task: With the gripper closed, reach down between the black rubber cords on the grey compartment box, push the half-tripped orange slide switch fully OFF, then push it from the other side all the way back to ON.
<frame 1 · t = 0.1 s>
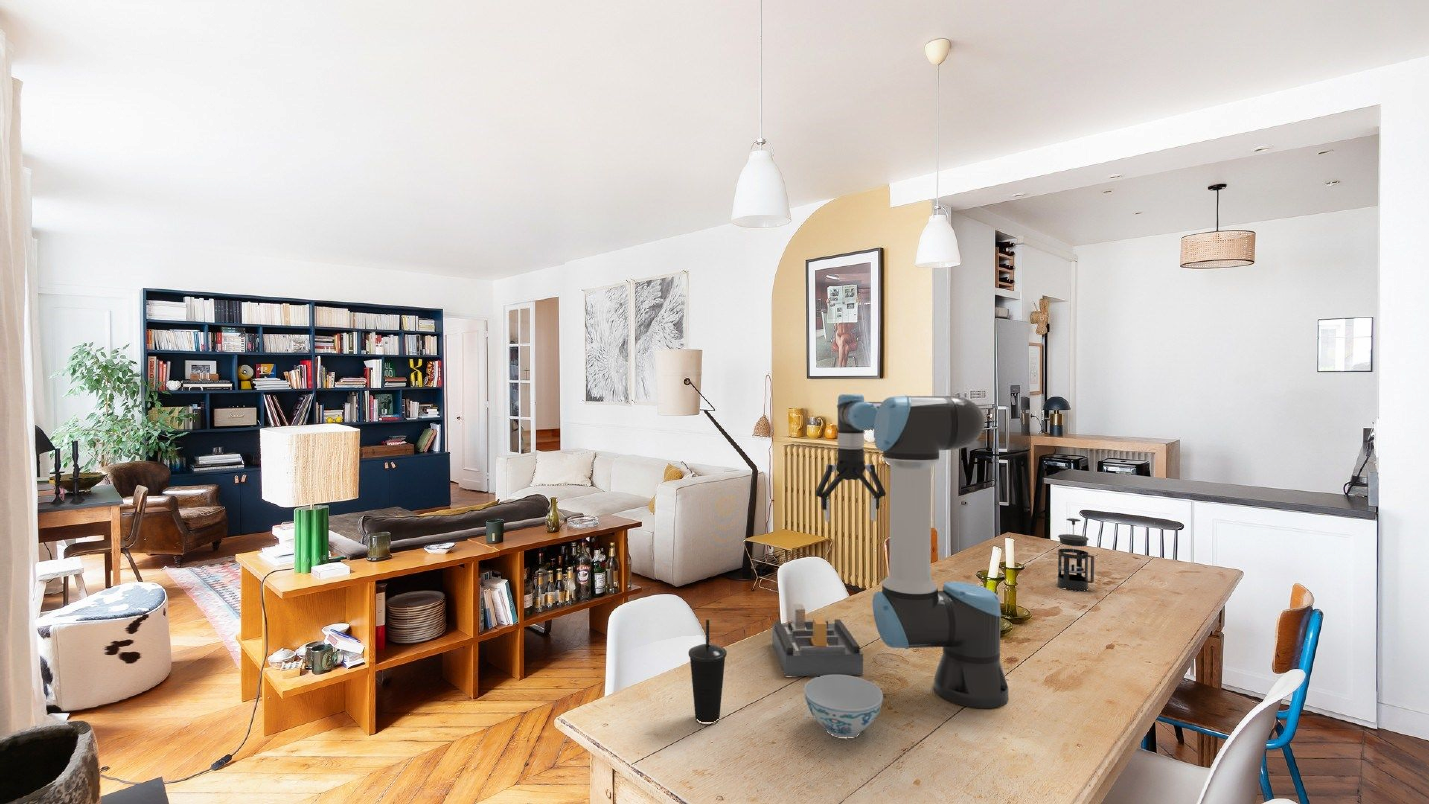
hand: (850, 520, 193), 28 cm above the table, tool pointing down, fingers open, 13 cm apart
chinaware: (842, 731, 129), on the table
tripped switch: (819, 633, 158), point 8 cm above the table, slide at 3.0 cm
drinking cup: (707, 720, 133), on the table
grey compartment box: (814, 658, 163), on the table
french press: (1074, 588, 221), on the table
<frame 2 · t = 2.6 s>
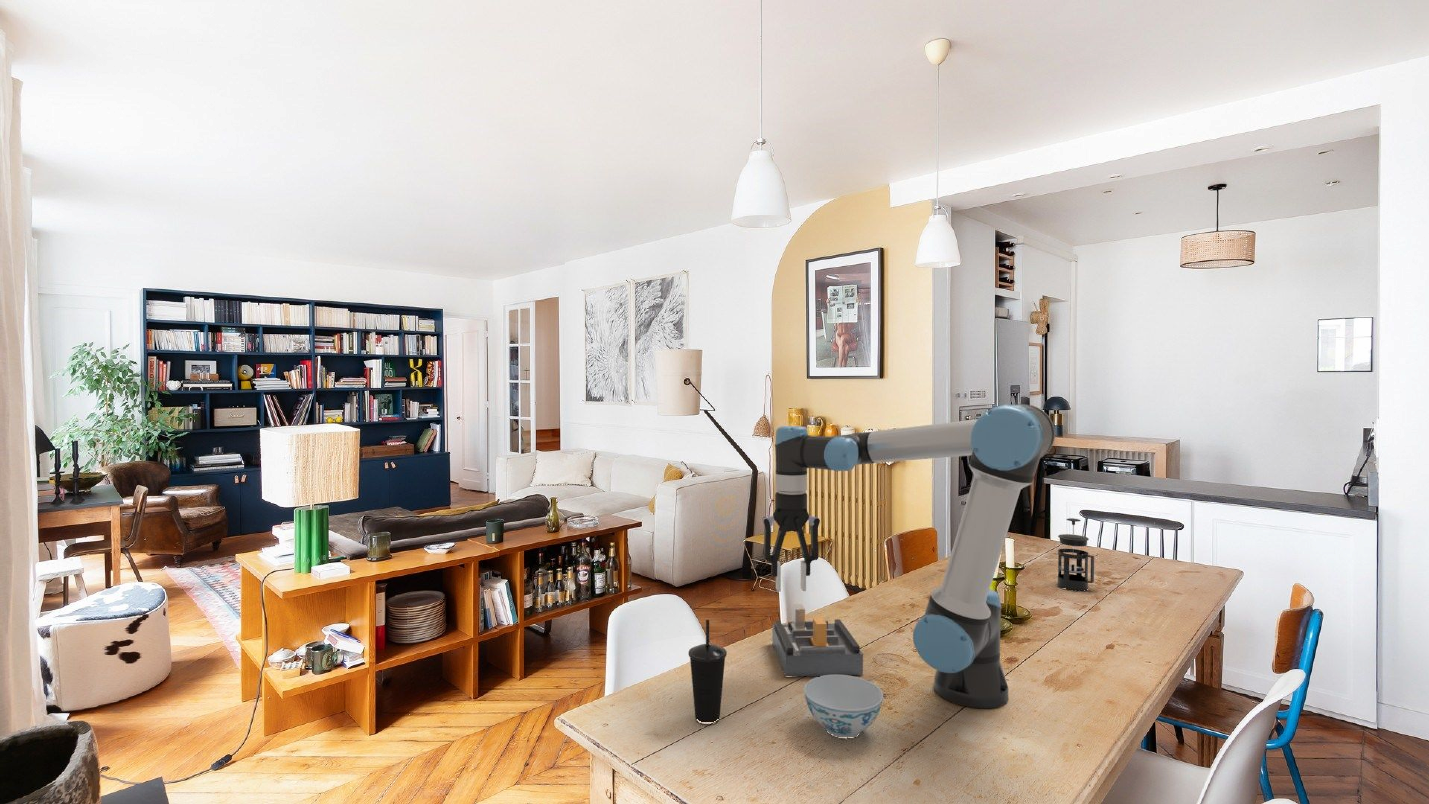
hand: (790, 589, 157), 19 cm above the table, tool pointing down, fingers open, 5 cm apart
nothing on the table moved.
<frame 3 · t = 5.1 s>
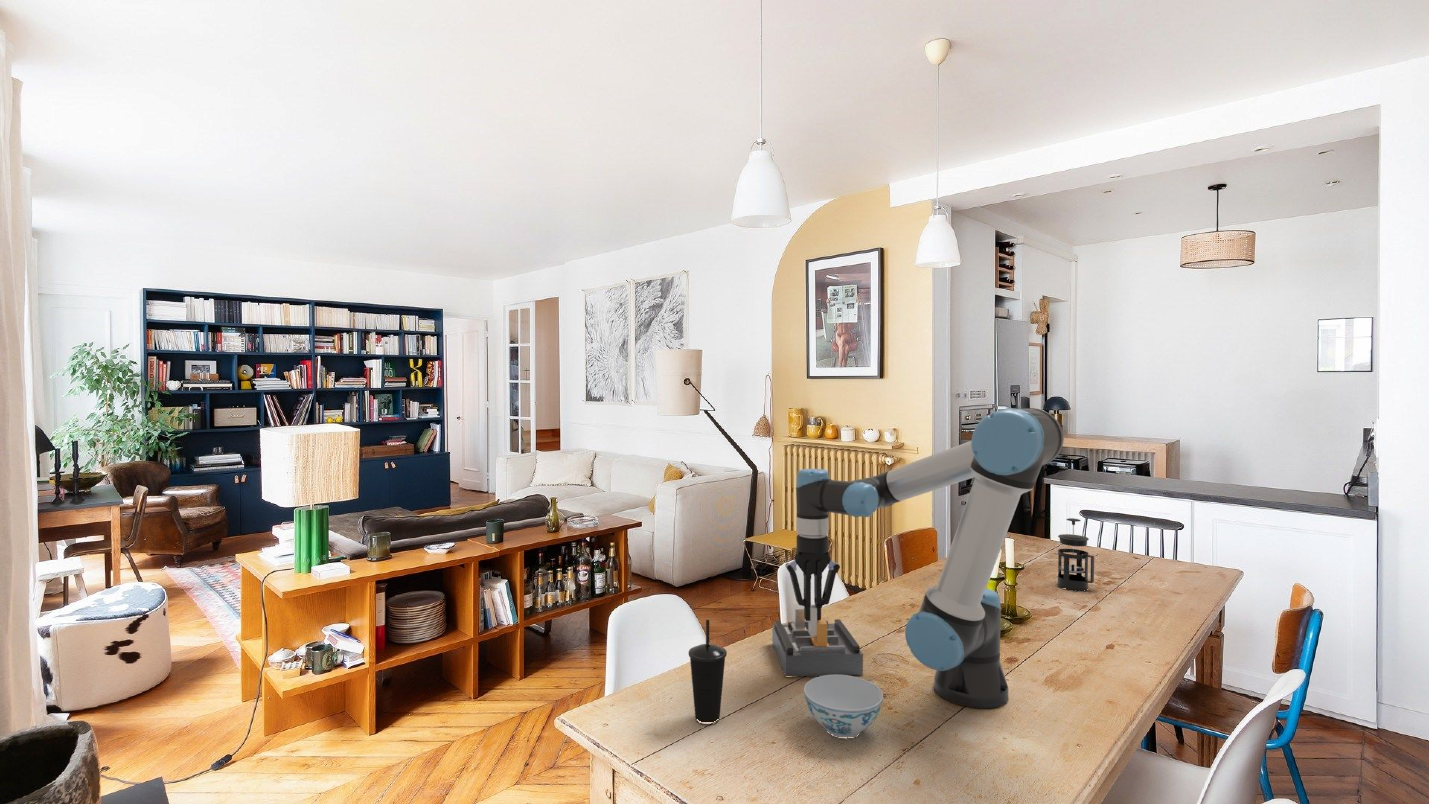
hand: (812, 633, 157), 8 cm above the table, tool pointing down, fingers closed
tripped switch: (820, 633, 158), point 8 cm above the table, slide at 2.8 cm, touching gripper
everything else where it was.
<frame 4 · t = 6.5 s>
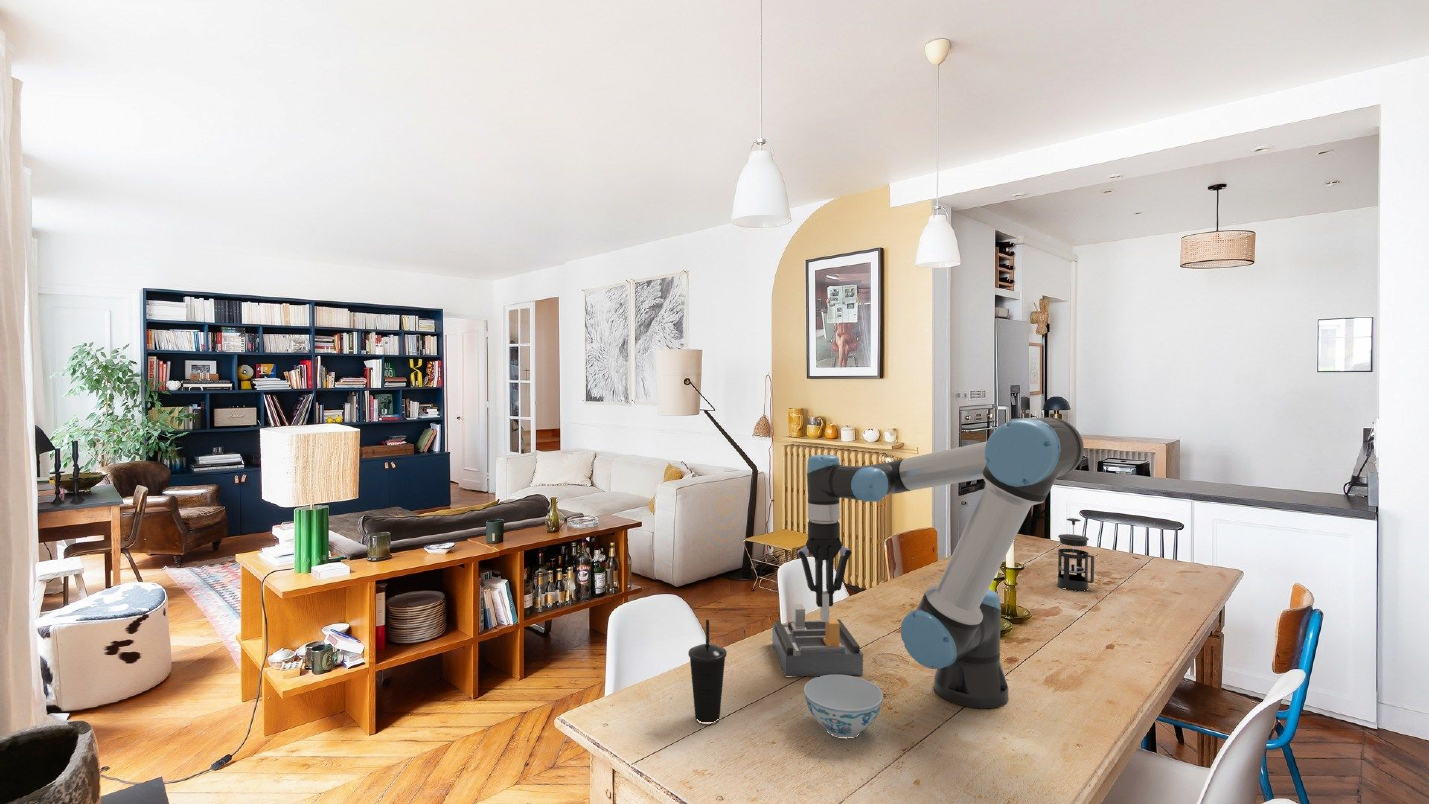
hand: (824, 619, 157), 11 cm above the table, tool pointing down, fingers closed
tripped switch: (832, 632, 158), point 8 cm above the table, slide at -0.1 cm
everything else where it was.
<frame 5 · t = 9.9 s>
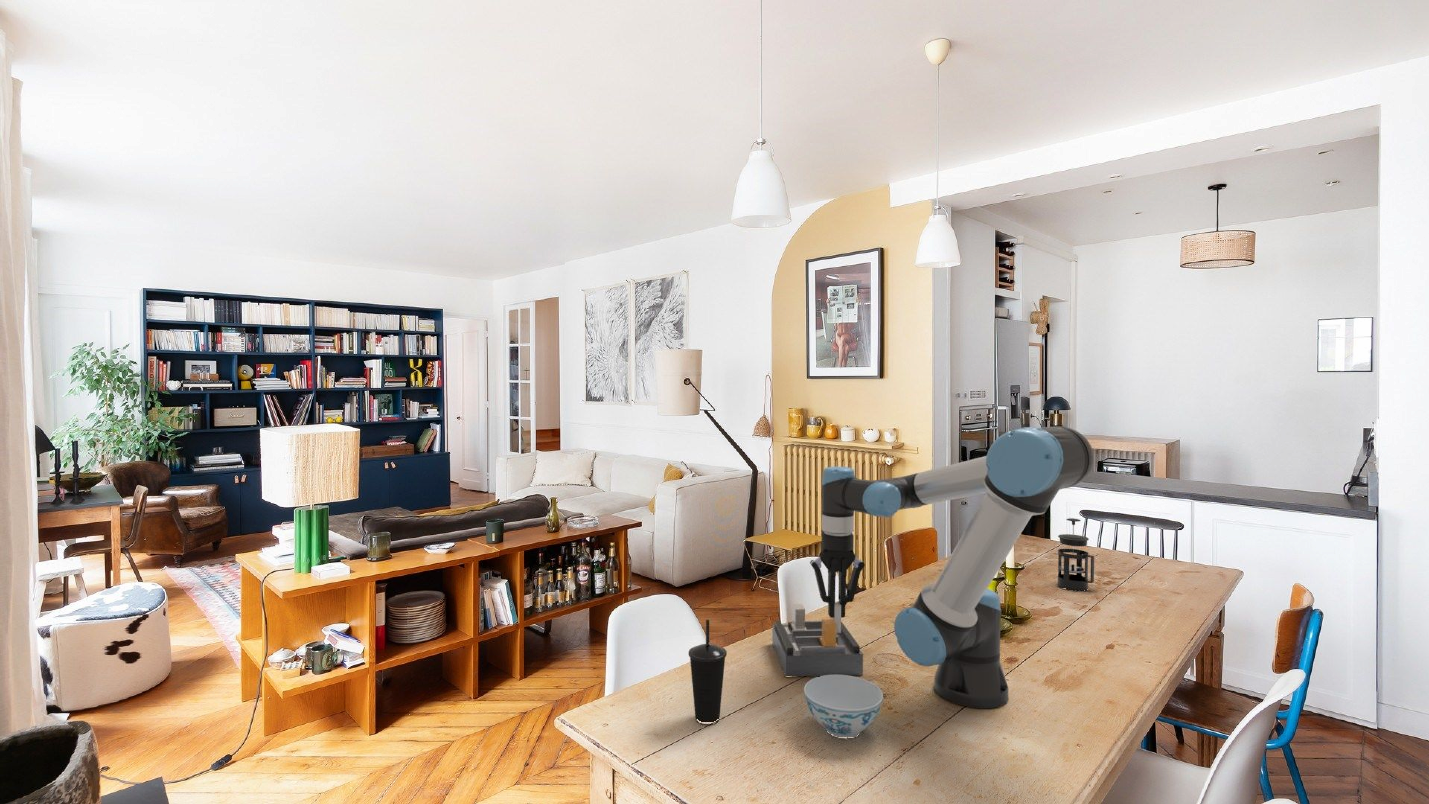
hand: (836, 630, 158), 9 cm above the table, tool pointing down, fingers closed
tripped switch: (828, 632, 158), point 8 cm above the table, slide at 0.8 cm, touching gripper
everything else where it was.
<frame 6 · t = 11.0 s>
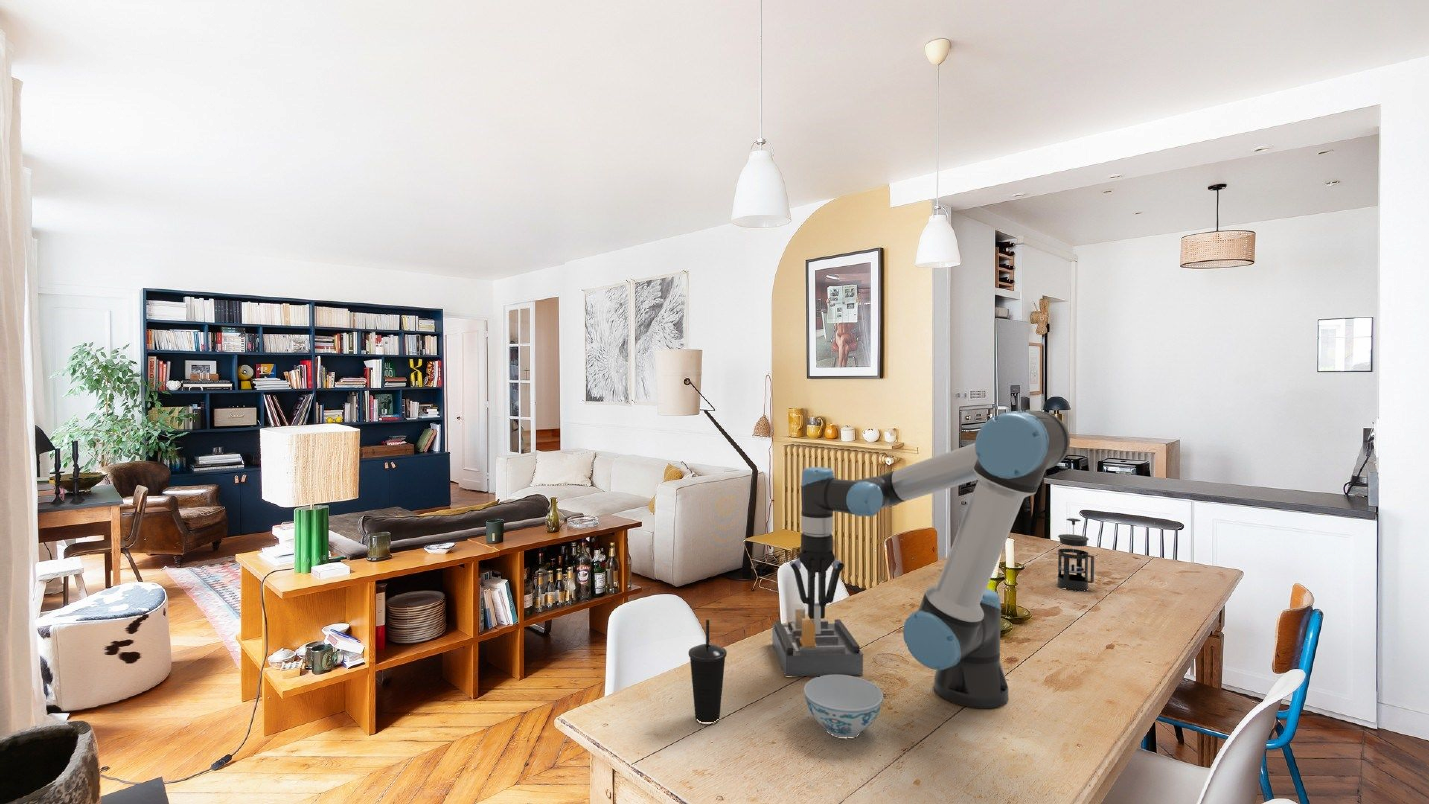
hand: (816, 631, 158), 9 cm above the table, tool pointing down, fingers closed
tripped switch: (808, 633, 158), point 8 cm above the table, slide at 5.7 cm, touching gripper
everything else where it was.
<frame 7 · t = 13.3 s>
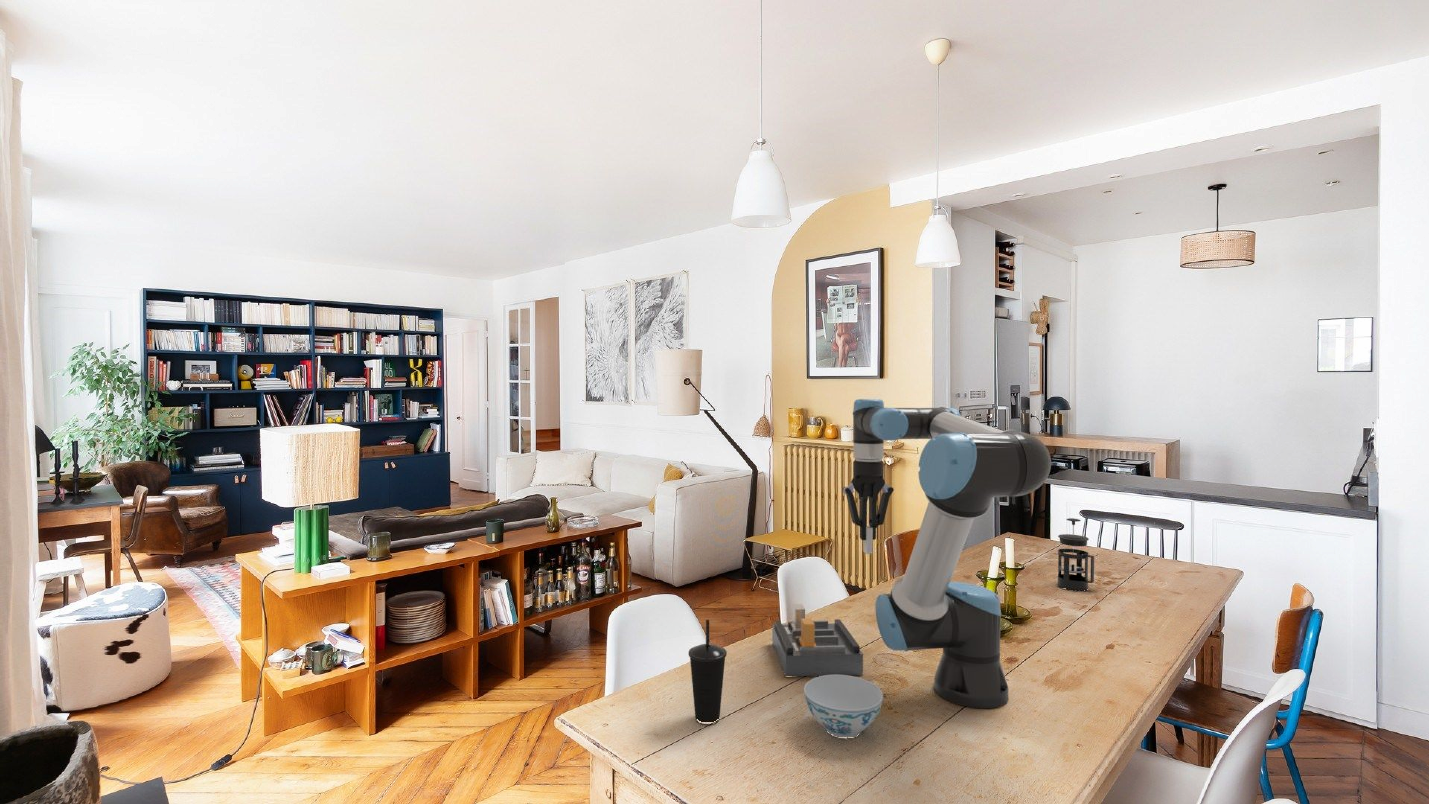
hand: (867, 552, 169), 25 cm above the table, tool pointing down, fingers closed
tripped switch: (807, 633, 158), point 8 cm above the table, slide at 5.9 cm
everything else where it was.
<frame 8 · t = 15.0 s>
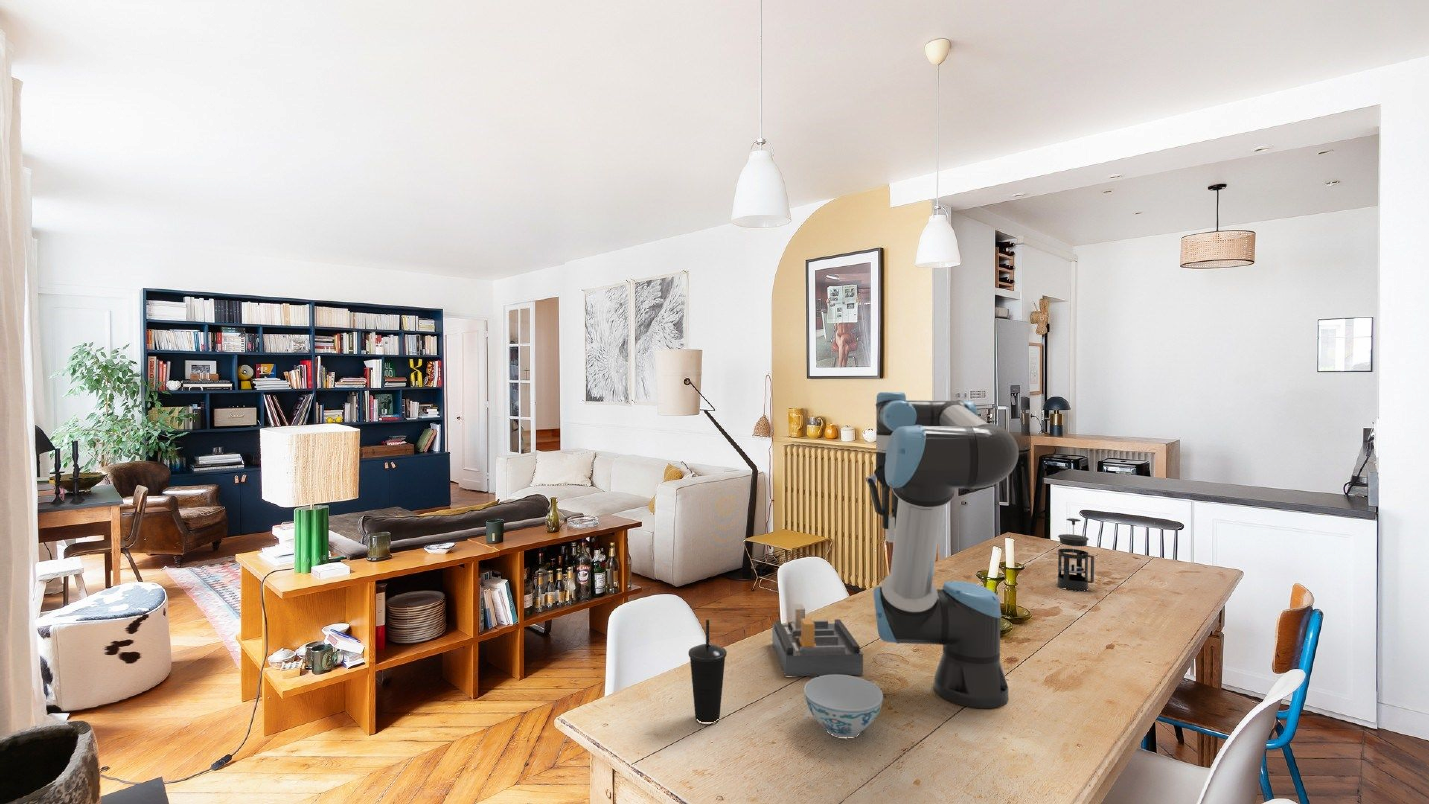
hand: (890, 541, 174), 26 cm above the table, tool pointing down, fingers closed
nothing on the table moved.
at the end: tripped switch slide at 5.9 cm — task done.
